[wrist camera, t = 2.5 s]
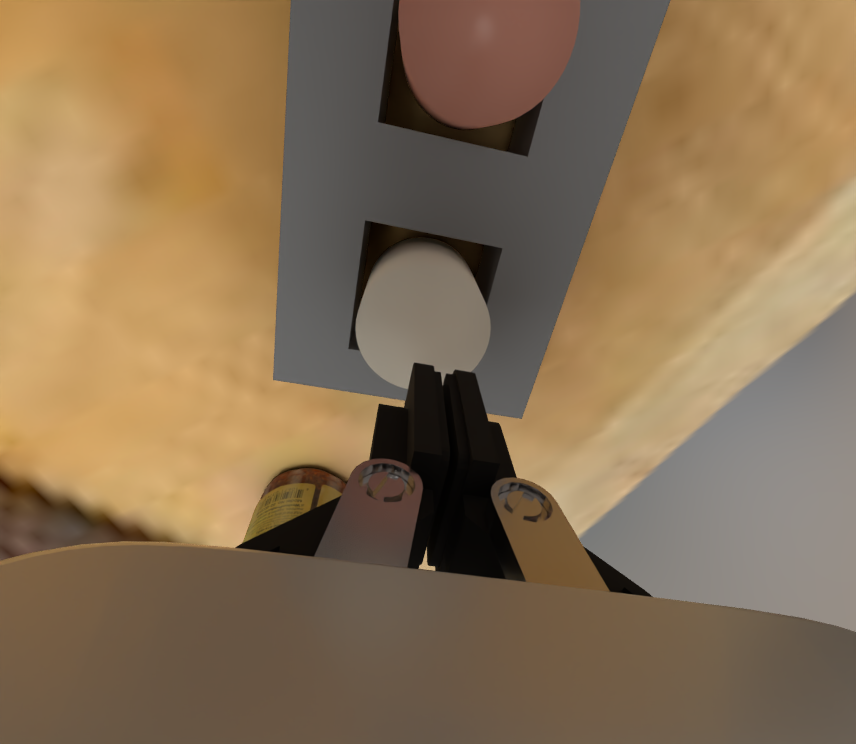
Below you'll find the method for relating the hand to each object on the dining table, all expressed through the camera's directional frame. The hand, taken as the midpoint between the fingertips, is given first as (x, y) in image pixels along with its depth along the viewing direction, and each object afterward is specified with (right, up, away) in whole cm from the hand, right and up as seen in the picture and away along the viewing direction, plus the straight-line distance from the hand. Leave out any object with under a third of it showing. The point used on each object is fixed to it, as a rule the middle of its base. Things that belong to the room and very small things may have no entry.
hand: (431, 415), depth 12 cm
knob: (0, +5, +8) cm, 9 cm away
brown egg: (+1, +13, +4) cm, 13 cm away
